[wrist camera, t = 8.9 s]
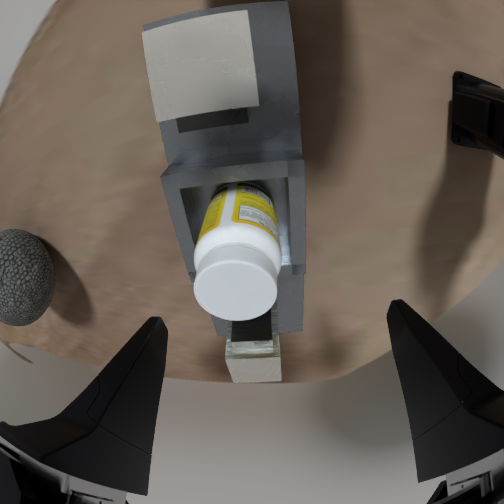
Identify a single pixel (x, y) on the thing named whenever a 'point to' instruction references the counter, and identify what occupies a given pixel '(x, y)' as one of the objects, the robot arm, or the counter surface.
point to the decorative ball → (24, 278)
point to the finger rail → (234, 148)
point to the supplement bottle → (238, 253)
